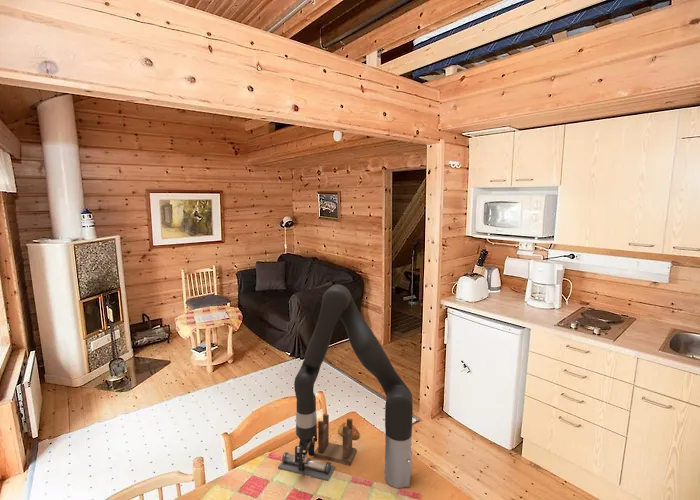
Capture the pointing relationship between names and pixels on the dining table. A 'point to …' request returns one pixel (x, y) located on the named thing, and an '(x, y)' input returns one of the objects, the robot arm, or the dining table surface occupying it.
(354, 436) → the pastry
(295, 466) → the mat
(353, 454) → the rack
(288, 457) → the capped glass tube
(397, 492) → the dining table surface
